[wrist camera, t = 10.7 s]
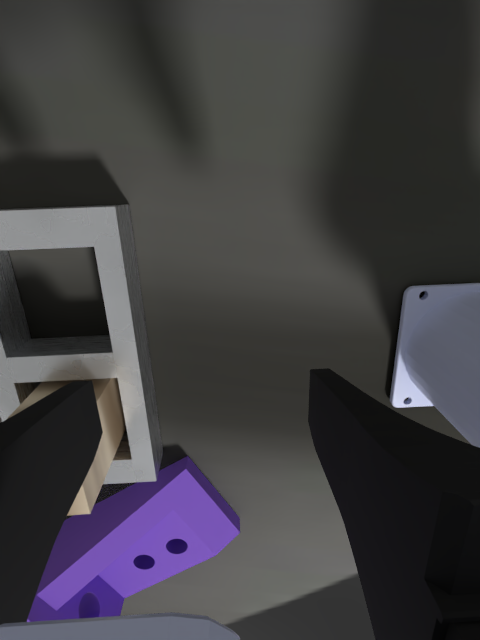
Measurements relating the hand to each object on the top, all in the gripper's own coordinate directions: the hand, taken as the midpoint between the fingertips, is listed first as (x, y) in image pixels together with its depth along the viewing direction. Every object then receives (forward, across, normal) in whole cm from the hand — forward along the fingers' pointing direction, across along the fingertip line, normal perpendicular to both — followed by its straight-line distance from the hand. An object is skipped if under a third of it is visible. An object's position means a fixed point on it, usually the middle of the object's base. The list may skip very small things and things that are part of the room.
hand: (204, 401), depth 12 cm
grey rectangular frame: (+9, +8, +2) cm, 13 cm away
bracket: (+10, +6, +16) cm, 20 cm away
